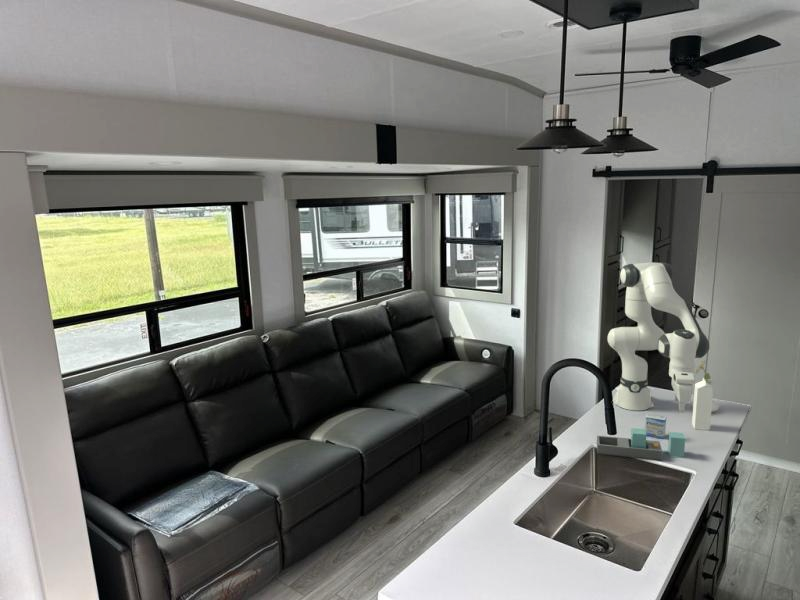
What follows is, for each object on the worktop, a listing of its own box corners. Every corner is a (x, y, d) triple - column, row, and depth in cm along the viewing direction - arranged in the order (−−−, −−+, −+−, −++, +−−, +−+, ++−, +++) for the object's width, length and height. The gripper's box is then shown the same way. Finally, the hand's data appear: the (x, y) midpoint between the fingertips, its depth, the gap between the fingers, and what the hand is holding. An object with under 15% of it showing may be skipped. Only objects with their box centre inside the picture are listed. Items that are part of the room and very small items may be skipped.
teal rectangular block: (668, 450, 226) (669, 431, 225) (681, 451, 225) (683, 433, 223) (669, 455, 222) (671, 437, 220) (683, 457, 220) (685, 438, 219)
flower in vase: (700, 402, 270) (703, 353, 265) (723, 410, 261) (728, 359, 256) (684, 409, 264) (687, 358, 258) (707, 417, 254) (712, 365, 249)
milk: (694, 429, 243) (697, 381, 239) (691, 423, 249) (695, 376, 244) (710, 430, 242) (713, 382, 237) (707, 424, 247) (710, 377, 242)
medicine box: (644, 436, 239) (645, 417, 237) (645, 431, 243) (646, 413, 241) (664, 439, 235) (665, 420, 234) (665, 435, 239) (666, 416, 237)
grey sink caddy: (596, 444, 233) (597, 423, 231) (658, 450, 226) (660, 428, 224) (597, 454, 225) (598, 432, 223) (661, 460, 218) (663, 438, 216)
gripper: (668, 363, 227) (666, 395, 230) (676, 380, 208) (674, 415, 210) (685, 363, 225) (683, 396, 228) (695, 381, 206) (693, 416, 209)
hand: (679, 405), depth 219 cm, fingers open, 8 cm apart
